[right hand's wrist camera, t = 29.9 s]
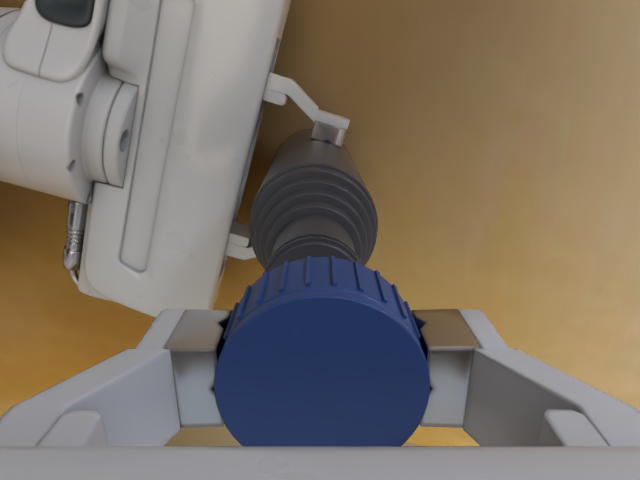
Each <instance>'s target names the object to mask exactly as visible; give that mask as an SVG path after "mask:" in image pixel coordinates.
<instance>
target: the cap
mask: <svg viewBox="0 0 640 480" xmlns="http://www.w3.org/2000/svg"><path fill="white" fill-rule="evenodd" d="M420 337H421V336H420V334H419V331H418V329H417V326H416V323H415V321H414V318H413V316H412V313H411V311H410V308H409V305H408V303H407V301H405V302H403V300H402V298H401V297H400V295H399V293H398V291H397V288H396V286H395V285H394V284H393V285H391V284H390V283H389V282H388V281H386V280H385V279H384V278H383V277H382V276H380V273H379V272H378V271H377V270H376V271H375V272H374V271H373V270H371V269H369V268H367V267H365V266H363V265H360V264H359V262H358V261H354V262H352V261H349V260H345V259H339V258H335V256H331V257H312V258H311V256H307V258H305V259H299V260H295V261H292V262H289V263H288V261H285V262H284V264H283V265H281V266H279V267H277V268H275V269H273V270H271V271H269V272H267V271H265V272H264V273H263V275H262V277H261V278H260V279H258V280H257V281H256V282H255V283H254V284H253V285H252V286H250V285H248V287H247V288H246V291H245V294H244V296H243V298H242V299H241V301H240V302H239V303H237V302H236V304H235V306H234V309H233V312H232V315H231V317H230V320H229V323H228V325H227V328H226V331H225V333H224V336H223V339H224V340H225V342H224V345H223V348H222V350H221V353H220V356H219V359H218V362H217V366H216V369H215V376H214V394H215V400H216V405H217V408H218V410H219V413H220V416H221V418H222V420H223V422H224V424H225V426H226V427H227V429H228V430H229V431H230V433H231V434H232V435H233V437H234V438H235V439H236V440H237V441H238V442H239V443H240V444H241V445H242V446H402V445H403V444H404V443H405V442H406V441H407V440H408V439H409V437H410V436H411V435H412V434H413V433H414V431H415V430H416V428H417V427H418V425H419V424H420V422H421V420H422V418H423V416H424V414H425V411H426V408H427V405H428V400H429V395H430V374H429V368H428V364H427V361H426V358H425V355H424V352H423V350H422V347H421V344H420V342H419V338H420Z"/></svg>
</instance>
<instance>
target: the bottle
mask: <svg viewBox="0 0 640 480" xmlns="http://www.w3.org/2000/svg"><path fill="white" fill-rule="evenodd" d="M311 132H312V129H307V130H302V131H299V132H297V133H295V134H293V135H291V136H290V137H288V138H287V139H286V140H285V141H284V142H283V143H282V145H281V146H280V148H279V149H278V151H277V153H276V156H275V158H274V160H273V162H272V164H271V166H270V168H269V170H268V172H267V174H266V176H265V178H264V180H263V182H262V184H261V186H260V188H259V190H258V193H257V195H256V197H255V199H254V201H253V204H252V206H251V210H250V215H249V234H250V240H251V244H252V248H253V250H254V253H255V255H256V257H257V259H258V261H259V262H260V263H261V265H262V266H263V268H264V269H265V271H267V272H269V271H271V270H273V269H275V268H277V267H279V266H281V265H283V264H284V262H285V261H288V263H289V262H292V261H295V260H299V259H305V258H307V256H311V258H312V257H331V256H335V258H339V259H345V260H349V261H352V262H354V261H358V262H359V264H360V265H363V266H365V264H366V263H367V261H368V260H369V258H370V256H371V254H372V252H373V249H374V246H375V242H376V236H377V230H378V219H377V212H376V208H375V205H374V202H373V200H372V198H371V196H370V194H369V192H368V190H367V188H366V186H365V184H364V182H363V180H362V178H361V176H360V174H359V172H358V170H357V168H356V166H355V165H354V163H353V161H352V159H351V157H350V155H349V153H348V151H347V149H346V147H345V146H344V144H343V145H342V147H338V146H334V145H332V144H330V143H329V142H328V140H327V141H324V142H323V141H318V140H315V139H312V138H311Z"/></svg>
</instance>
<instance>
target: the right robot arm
mask: <svg viewBox="0 0 640 480" xmlns="http://www.w3.org/2000/svg"><path fill="white" fill-rule="evenodd" d="M232 312H233V310H206V309H188V310H187V309H164V310H162V311H161V312H160V313H159V315H158V316H157V318H156V319H155V320H154V322H153V323H152V325H151V326H150V328H149V329H148V331H147V332H146V334H145V335H144V336H143V338H142V339H141V341H140V342H139V344H138V345H137V347H136V348H135V349H126V350H124V351H122V352H120V353H118V354H116V355H114V356H112V357H110V358H108V359H106V360H104V361H102V362H100V363H98V364H96V365H94V366H92V367H90V368H88V369H86V370H84V371H82V372H80V373H78V374H76V375H74V376H72V377H70V378H68V379H66V380H64V381H62V382H60V383H58V384H56V385H54V386H52V387H50V388H48V389H46V390H44V391H42V392H40V393H38V394H36V395H34V396H32V397H30V398H28V399H26V400H24V401H23V402H21V403H19V404H17V405H15V406H13V407H11V408H10V409H9V410H8V411H7V412H6V413H5V414H4V415H3V416H2V417H1V418H0V480H640V412H639V411H638V410H637V409H636V408H634V407H632V406H630V405H628V404H626V403H624V402H622V401H620V400H618V399H616V398H614V397H612V396H610V395H608V394H606V393H604V392H602V391H600V390H598V389H596V388H594V387H592V386H590V385H588V384H586V383H584V382H582V381H580V380H578V379H576V378H574V377H572V376H570V375H568V374H566V373H564V372H562V371H560V370H558V369H556V368H554V367H552V366H550V365H548V364H546V363H544V362H542V361H540V360H538V359H536V358H534V357H532V356H530V355H528V354H526V353H524V352H522V351H520V350H518V349H509V348H508V346H507V345H506V344H505V342H504V341H503V339H502V338H501V337H500V335H499V334H498V332H497V331H496V330H495V328H494V327H493V325H492V324H491V323H490V321H489V320H488V318H487V317H486V316H485V314H484V313H483V311H482V310H480V309H439V310H412V311H411V313H412V316H413V318H414V321H415V323H416V326H417V329H418V331H419V334H420V336H421V337H420V338H419V342H420V344H421V347H422V350H423V352H424V355H425V358H426V361H427V364H428V368H429V374H430V395H429V400H428V405H427V408H426V411H425V414H424V416H423V418H422V420H421V422H420V426H423V427H460V428H463V430H464V431H465V432H466V433H468V434H469V435H470V436H471V437H472V438H473V439H474V440H475V441H476V442H477V443H478V444H479V445H480V446H164V445H165V444H166V443H167V442H168V441H169V440H170V439H171V438H172V437H174V435H176V434H177V433H178V432H179V431H180V428H184V427H219V426H223V425H224V422H223V420H222V418H221V416H220V413H219V410H218V408H217V405H216V400H215V394H214V376H215V369H216V366H217V362H218V359H219V356H220V353H221V350H222V348H223V345H224V342H225V340H224V339H223V336H224V333H225V331H226V328H227V325H228V323H229V320H230V317H231V315H232Z"/></svg>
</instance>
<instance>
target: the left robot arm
mask: <svg viewBox="0 0 640 480" xmlns="http://www.w3.org/2000/svg"><path fill="white" fill-rule="evenodd" d="M290 3H291V0H26V1H25V2H24V4H23V6H22V8H11V7H0V181H3V182H6V183H10V184H14V185H17V186H21V187H25V188H28V189H32V190H36V191H40V192H44V193H47V194H50V195H54V196H58V197H62V198H65V199H69V203H68V213H67V240H66V245H65V246H64V249H63V266H64V268H66V269H68V270H69V273H70V276H71V278H72V280H73V282H74V283H75V285H76V286H77V287H78V289H79V291H81V292H82V293H84V294H86V295H89V296H92V297H96V298H100V299H104V300H108V301H115V302H117V303H119V304H121V305H124V306H126V307H128V308H131V309H133V310H136V311H138V312H141V313H144V314H147V315H149V316H152V317H155V318H157V316H158V315H159V313H160V312H161V311H162V310H164V309H187V310H188V309H206V310H213V308H214V305H215V303H216V300H217V297H218V294H219V290H220V286H221V282H222V278H223V274H224V270H225V265H226V261H227V257H228V256H230V257H234V258H238V259H242V260H247V259H251V258H255V257H256V255H255V253H254V250H253V248H252V244H251V240H250V234H249V225H245V224H242V223H238V222H236V221H237V217H238V213H239V209H240V205H241V201H242V197H243V193H244V189H245V185H246V181H247V177H248V173H249V168H250V164H251V160H252V156H253V152H254V148H255V144H256V140H257V136H258V132H259V128H260V124H261V120H262V116H263V112H264V108H265V104H266V101H267V102H271V103H274V104H277V105H281V106H283V105H284V104H286V103H287V101H288V97H290V98H291V99H292V100H293V101H294V102H295V103H296V104H297V105H298V106H299V107H300V109H301V110H302V111H303V112H304V113H305V114H306V115H307V116H308V117H309V118H310V119H311V120H312V121H313V122H314V125H313V128H312V132H311V138H312V139H315V140H318V141H323V142H324V141H327V140H328V142H329V143H330V144H332V145H334V146H338V147H342V145H343V142H344V139H345V136H346V133H347V129H348V126H349V123H350V120H349V119H347V118H345V117H342V116H339V115H336V114H333V113H329V112H326V111H323V110H320V109H319V108H318V106H317V105H316V104H315V103H314V101H313V100H312V99H311V98H310V97H309V96H308V95H307V94H306V93H305V92H304V91H303V89H302V88H301V87H300V86H299V85H298V84H297V83H296V82H295V81H294V80H293V79H290V78H287V77H284V76H281V75H278V74H274V73H273V71H274V67H275V63H276V59H277V55H278V51H279V47H280V43H281V39H282V35H283V31H284V27H285V23H286V19H287V15H288V11H289V7H290ZM78 269H80V271H79V276H78V273H77V270H78Z"/></svg>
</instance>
